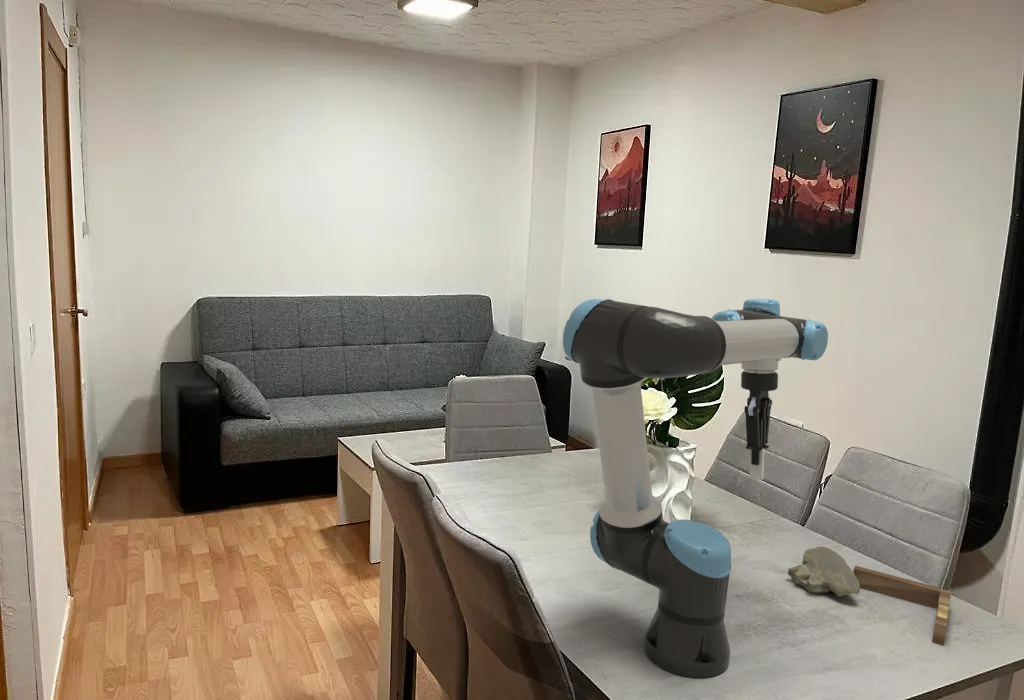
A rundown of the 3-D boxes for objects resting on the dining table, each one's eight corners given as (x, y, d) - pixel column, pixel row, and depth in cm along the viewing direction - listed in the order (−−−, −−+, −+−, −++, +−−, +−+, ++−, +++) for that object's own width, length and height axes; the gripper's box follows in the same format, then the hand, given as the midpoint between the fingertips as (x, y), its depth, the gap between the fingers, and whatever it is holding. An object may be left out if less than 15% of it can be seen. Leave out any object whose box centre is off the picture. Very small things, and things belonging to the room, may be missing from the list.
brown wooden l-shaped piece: (943, 645, 149) (947, 625, 148) (839, 614, 158) (841, 595, 158) (948, 608, 164) (951, 589, 164) (852, 582, 174) (855, 564, 173)
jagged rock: (813, 593, 175) (780, 579, 172) (828, 549, 177) (796, 535, 174) (860, 613, 162) (825, 599, 159) (877, 566, 163) (842, 551, 160)
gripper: (769, 375, 158) (765, 487, 160) (785, 369, 169) (781, 474, 171) (732, 372, 162) (730, 482, 164) (750, 366, 173) (747, 469, 175)
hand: (756, 478), depth 168 cm, fingers closed
